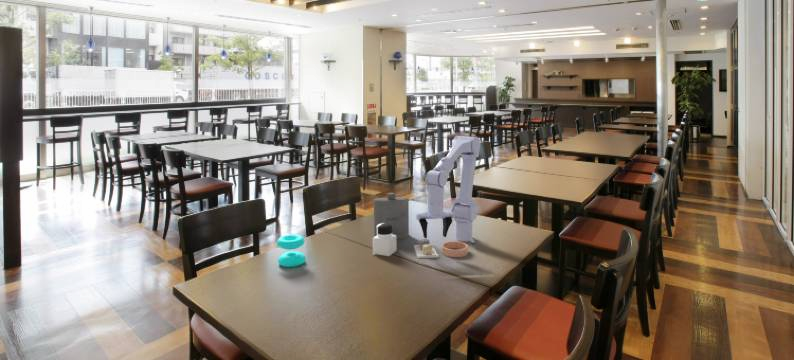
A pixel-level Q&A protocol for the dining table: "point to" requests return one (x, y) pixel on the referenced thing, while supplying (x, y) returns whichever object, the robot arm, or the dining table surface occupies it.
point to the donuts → (291, 257)
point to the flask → (392, 214)
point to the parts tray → (419, 255)
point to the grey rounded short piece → (424, 242)
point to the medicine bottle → (384, 240)
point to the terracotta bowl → (454, 253)
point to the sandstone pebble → (427, 249)
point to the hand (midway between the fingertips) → (434, 236)
